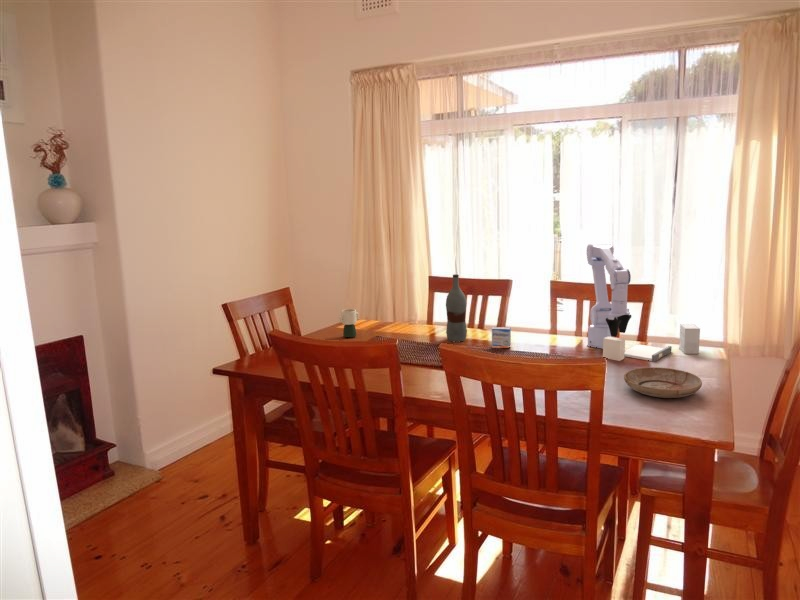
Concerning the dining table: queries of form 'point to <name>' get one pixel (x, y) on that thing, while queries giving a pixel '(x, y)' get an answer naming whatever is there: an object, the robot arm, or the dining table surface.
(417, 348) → the dining table surface
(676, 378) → the ceramic bowl
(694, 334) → the small box
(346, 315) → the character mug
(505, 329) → the medicine box
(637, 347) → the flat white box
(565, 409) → the dining table surface
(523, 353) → the dining table surface
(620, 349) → the carton
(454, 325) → the bottle
